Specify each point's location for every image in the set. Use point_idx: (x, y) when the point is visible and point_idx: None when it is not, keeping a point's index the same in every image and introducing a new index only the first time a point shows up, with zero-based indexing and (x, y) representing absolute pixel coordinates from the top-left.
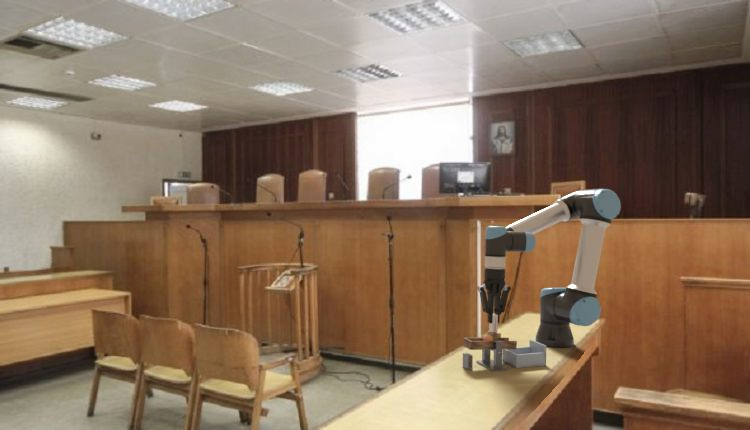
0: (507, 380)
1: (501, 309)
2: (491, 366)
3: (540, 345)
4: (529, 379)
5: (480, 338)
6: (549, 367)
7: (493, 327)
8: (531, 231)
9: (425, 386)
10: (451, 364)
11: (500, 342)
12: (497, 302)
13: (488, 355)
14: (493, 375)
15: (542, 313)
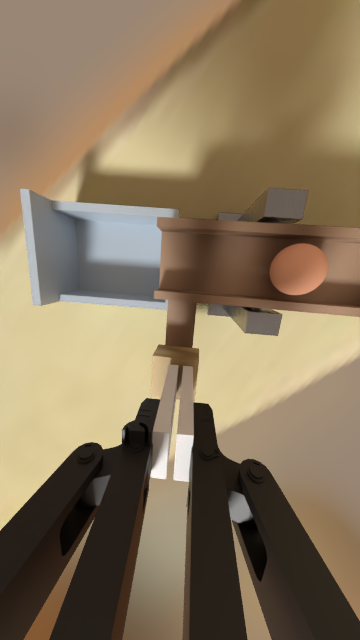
0: (293, 110)
1: (93, 477)
2: None
3: (37, 225)
4: (216, 92)
5: (315, 304)
6: (71, 196)
7: (189, 380)
8: None
9: None
10: (333, 329)
11: (280, 189)
12: (121, 593)
13: None
14: (297, 181)
15: None
